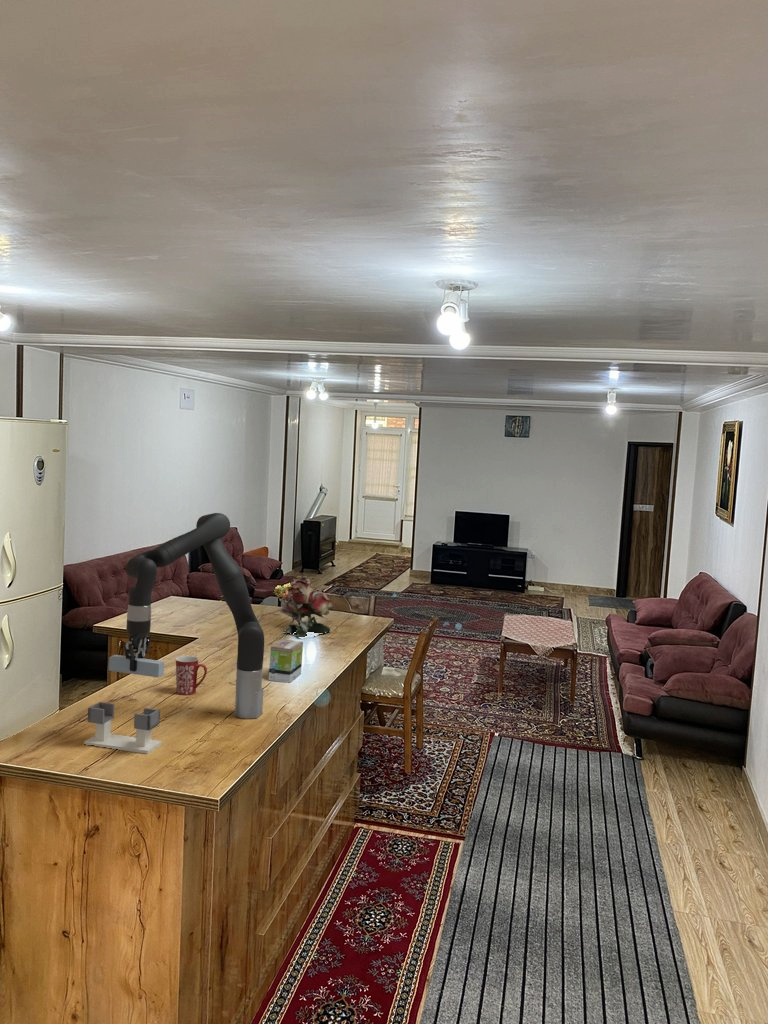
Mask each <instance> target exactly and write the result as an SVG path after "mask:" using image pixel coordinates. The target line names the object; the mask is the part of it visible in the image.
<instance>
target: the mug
mask: <svg viewBox="0 0 768 1024" xmlns="http://www.w3.org/2000/svg"><path fill="white" fill-rule="evenodd" d="M174 660H175V676H176V677H175V680H176V682H175V683H176V684H175V685H176V694H177V695H182V696H190V695H194V694H196V692H197V688H198V687H199V686H200V685H201V684H202V683H203V681H204V680H205V678H206V676H207V672H208V667H207V665H206V664H204V663H199V657H197V656H195V655H182V656H181V655H180V656H177V657H176V658H175V659H174ZM201 667H202V668H203V670H204V672H203V673H204V674H203V676H202V678H201V679H200V680H199V682H198V683H197V680H198V670H199V668H201Z"/></svg>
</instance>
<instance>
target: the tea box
mask: <svg viewBox="0 0 768 1024" xmlns="http://www.w3.org/2000/svg"><path fill="white" fill-rule="evenodd" d="M303 649H304V641H300V640H299V641H298V640H292V639H290V640H289V639H280V640H279V641H277V642H275V643H274V644H272V645H271V646H270V655H269V667H268V681H272V682H279V683H286V682H288V683H292V682H293V680H296V678H298V677H299V676H301V675H302V666H303Z"/></svg>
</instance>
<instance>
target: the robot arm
mask: <svg viewBox="0 0 768 1024" xmlns="http://www.w3.org/2000/svg"><path fill="white" fill-rule="evenodd" d="M195 526H196V527H195V528H194V529H192V530H190V531H188V532H185V533H183V534H181V535H178V536H175V537H174V538H172V539H169V540H167V541H165V542H163V543H162V544H160V545H158V546H156V548H153V549H150V550H147V551H146V550H145V551H143V552H141V553H139V554H136V555H134V556H132V557H131V558H130V559H129V560H128V561H127V562H126V565H125V572H126V573H127V575H128V576H129V577H130V578H131V577H132V578H134V579H136V582H135V583H136V584H135V585H133V586H131V587H130V588H129V593H128V603H127V604H128V605H127V610H126V611H127V613H126V633H128V634H129V638H128V641H127V642H124V643H123V650H124V656H126V659H129V660H130V671H133V672H135V671H136V670H137V658H142V659H145V657H146V655H148V653H149V649H150V647H151V641H152V636H150V635H148V634H149V633H150V632H151V625H152V623H151V621H152V604H151V603H152V592H153V589H154V585H155V582H156V579H157V575H158V568H164V567H167V566H169V565H171V564H172V563H174V562H175V561H178V560H179V559H181V558H182V557H184V556H185V555H188V554H189V553H191V552H193V551H194V550H196V549H197V548H199V547H201V546H203V548H204V550H205V552H206V554H207V557H208V559H209V562H210V565H211V567H212V570H213V573H214V575H215V578H216V581H217V584H218V587H219V589H220V593H221V595H222V598H223V600H224V601H225V603H226V606H228V608H229V609H230V612H231V614H232V615H233V619H234V623H235V624H234V625H235V628H236V631H237V657H236V658H237V659H236V676H235V679H236V680H235V697H234V701H235V702H234V716H235V717H237V718H240V719H247V720H248V719H258V718H259V717H260V716H261V715H262V714H263V709H264V708H263V705H264V688H263V687H262V685H263V684H262V683H263V668H264V659H265V658H264V656H265V655H264V654H265V653H264V652H265V635H264V631H263V628H262V626H261V625H260V622H259V620H258V618H257V616H256V614H255V612H254V610H253V607H252V603H251V598H250V593H249V590H248V586H247V582H246V580H245V577H244V574H243V571H242V569H241V567H240V565H239V564H238V563H237V562H236V561H235V559H234V558H233V557H232V556H231V555H230V554H229V552H228V551H227V549H226V547H225V545H224V542H223V539H222V538H224V537H225V536H227V535H228V534H229V532H230V530H231V521H230V519H229V517H228V516H227V515H226V514H224V513H222V512H213V513H208V514H205V515H202V516H200V517H199V518H198V519H197V521H196V525H195Z"/></svg>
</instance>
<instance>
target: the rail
mask: <svg viewBox="0 0 768 1024" xmlns="http://www.w3.org/2000/svg"><path fill="white" fill-rule="evenodd" d="M108 660H109V661H108V671H111V672H116V673H123V674H131V675H138V676H144V677H152V678H160V677H162V676H164V674H165V673H164V672H165V661H163V660H156V659H149V658H148V659H147V658H144V659H142V658H137V670H136V671H135V672H133V671H130V660H129V659H126V656H125V655H120V654H114V655H111V656H109V659H108Z"/></svg>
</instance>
